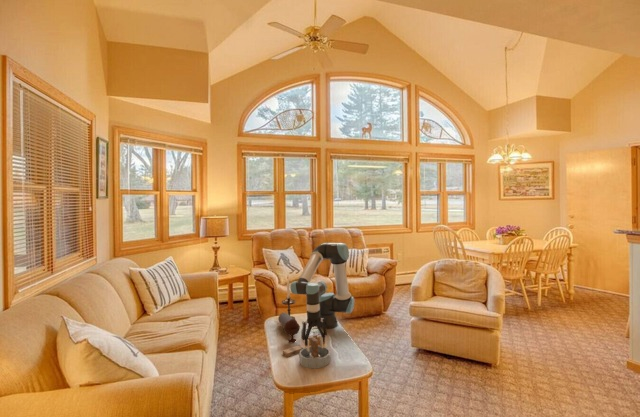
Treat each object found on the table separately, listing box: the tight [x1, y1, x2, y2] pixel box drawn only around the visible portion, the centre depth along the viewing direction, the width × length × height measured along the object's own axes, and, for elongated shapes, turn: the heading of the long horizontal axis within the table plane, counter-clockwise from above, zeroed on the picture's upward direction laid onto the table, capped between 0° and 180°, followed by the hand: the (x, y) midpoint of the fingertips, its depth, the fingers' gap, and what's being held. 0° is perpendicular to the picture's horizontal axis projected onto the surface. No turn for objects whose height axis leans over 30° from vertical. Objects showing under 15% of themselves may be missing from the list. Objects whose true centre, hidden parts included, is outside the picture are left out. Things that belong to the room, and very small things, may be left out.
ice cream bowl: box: [283, 318, 301, 343], centre depth 225 cm, size 11×11×15 cm
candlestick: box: [281, 276, 296, 320], centre depth 267 cm, size 11×11×35 cm
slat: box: [282, 345, 305, 358], centre depth 208 cm, size 12×5×2 cm, turn 127°
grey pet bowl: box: [298, 345, 331, 369], centre depth 196 cm, size 18×18×5 cm
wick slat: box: [310, 337, 319, 358], centre depth 196 cm, size 2×5×12 cm, turn 23°
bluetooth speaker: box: [278, 312, 292, 329], centre depth 245 cm, size 23×9×10 cm, turn 21°
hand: (314, 349), depth 196 cm, fingers open, 8 cm apart
